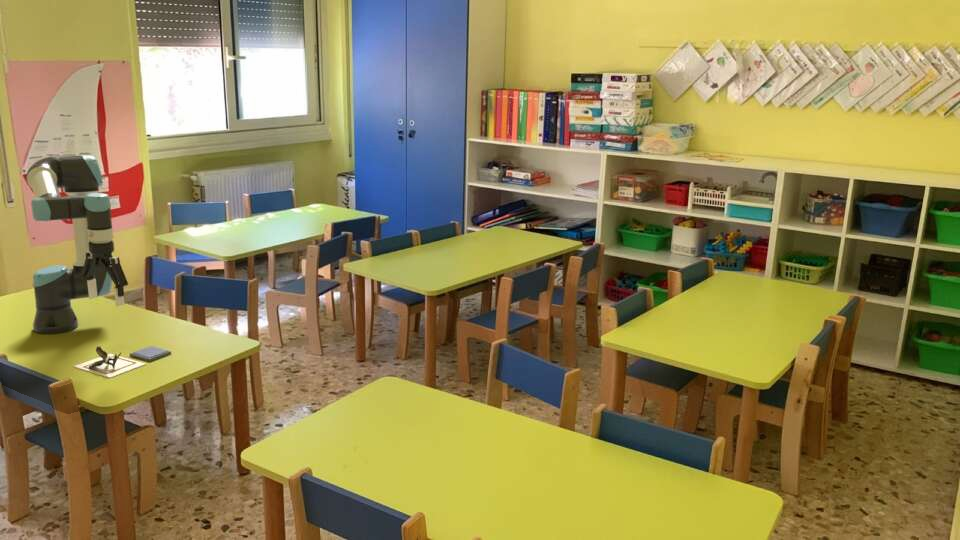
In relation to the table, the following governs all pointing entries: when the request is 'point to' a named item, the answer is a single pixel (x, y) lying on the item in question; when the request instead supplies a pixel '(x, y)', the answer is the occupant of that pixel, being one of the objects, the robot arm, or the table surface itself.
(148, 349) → the ink pad
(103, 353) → the eagle figurine
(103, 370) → the print sheet
